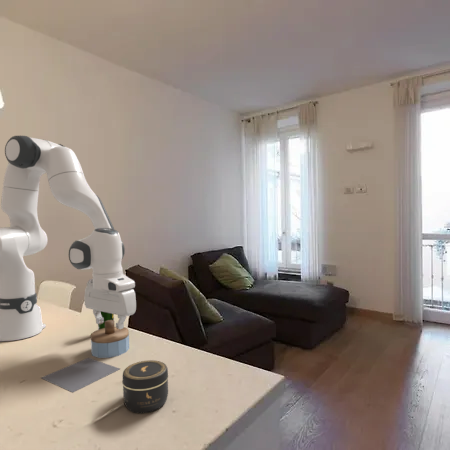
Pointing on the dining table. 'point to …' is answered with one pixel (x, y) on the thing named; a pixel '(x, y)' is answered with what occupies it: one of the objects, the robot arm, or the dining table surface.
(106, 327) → the lid
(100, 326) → the beer can
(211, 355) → the dining table surface
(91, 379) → the mat
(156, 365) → the jar
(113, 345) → the bowl
